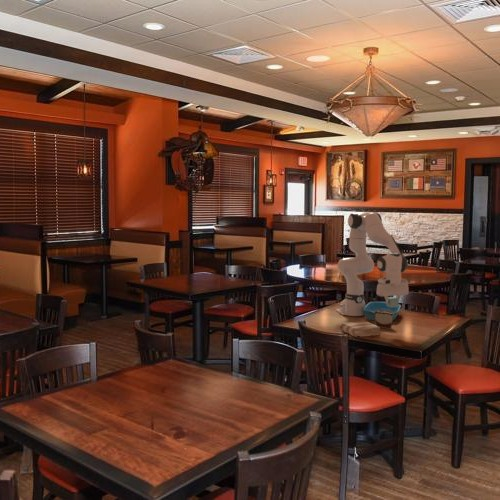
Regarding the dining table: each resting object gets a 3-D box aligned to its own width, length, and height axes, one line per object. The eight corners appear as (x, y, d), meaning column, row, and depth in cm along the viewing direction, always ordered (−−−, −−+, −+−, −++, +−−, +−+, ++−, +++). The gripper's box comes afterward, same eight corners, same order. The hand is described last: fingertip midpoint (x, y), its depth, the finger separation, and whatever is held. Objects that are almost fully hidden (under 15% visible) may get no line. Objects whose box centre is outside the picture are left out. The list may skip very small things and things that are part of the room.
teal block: (386, 305, 329) (386, 297, 329) (393, 305, 331) (393, 297, 330) (390, 307, 325) (391, 299, 324) (398, 307, 326) (398, 298, 326)
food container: (396, 327, 342) (396, 311, 341) (393, 329, 337) (393, 312, 336) (376, 324, 348) (377, 308, 347) (373, 326, 343) (374, 310, 342)
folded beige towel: (341, 330, 333) (342, 322, 332) (365, 329, 338) (365, 321, 337) (355, 337, 318) (355, 329, 317) (379, 335, 323) (379, 327, 322)
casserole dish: (395, 324, 350) (396, 313, 349) (360, 321, 358) (360, 310, 357) (402, 313, 384) (402, 302, 383) (369, 310, 392) (370, 300, 391)
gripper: (405, 278, 332) (404, 300, 334) (375, 279, 325) (374, 302, 327) (411, 279, 326) (410, 302, 328) (381, 281, 320) (380, 304, 321)
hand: (392, 302), depth 327 cm, fingers closed on teal block, 5 cm apart
